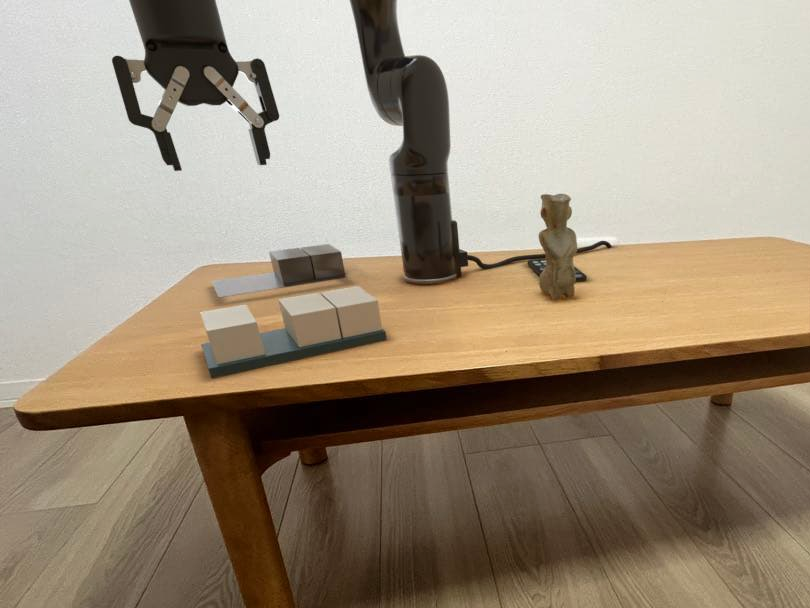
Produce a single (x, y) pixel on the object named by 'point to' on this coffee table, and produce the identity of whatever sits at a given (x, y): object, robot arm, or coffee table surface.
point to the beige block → (232, 334)
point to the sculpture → (557, 247)
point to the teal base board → (312, 329)
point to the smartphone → (540, 264)
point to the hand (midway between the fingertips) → (221, 167)
